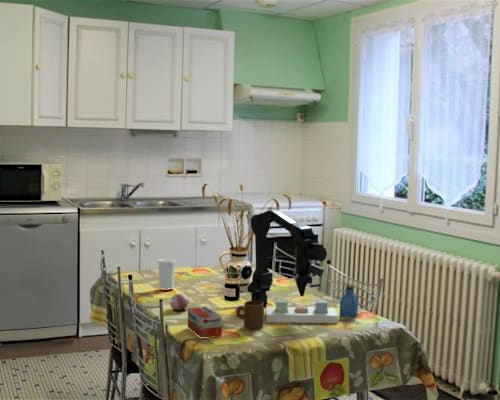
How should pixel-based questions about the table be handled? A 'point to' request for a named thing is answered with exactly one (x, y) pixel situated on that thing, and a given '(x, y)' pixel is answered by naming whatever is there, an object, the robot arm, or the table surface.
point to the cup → (166, 273)
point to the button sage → (281, 305)
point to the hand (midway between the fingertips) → (302, 296)
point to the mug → (252, 314)
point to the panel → (301, 316)
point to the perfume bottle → (349, 303)
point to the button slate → (321, 306)
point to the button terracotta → (301, 309)
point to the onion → (179, 302)
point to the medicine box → (204, 322)
